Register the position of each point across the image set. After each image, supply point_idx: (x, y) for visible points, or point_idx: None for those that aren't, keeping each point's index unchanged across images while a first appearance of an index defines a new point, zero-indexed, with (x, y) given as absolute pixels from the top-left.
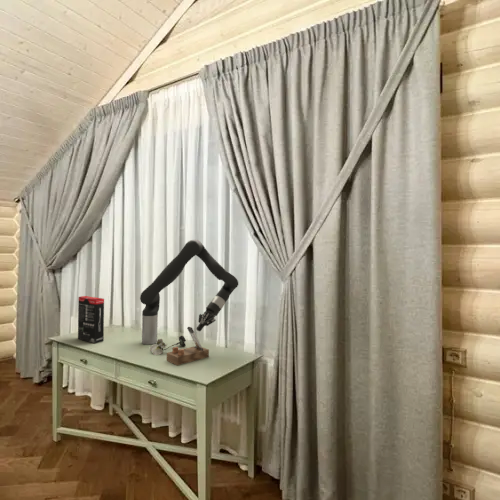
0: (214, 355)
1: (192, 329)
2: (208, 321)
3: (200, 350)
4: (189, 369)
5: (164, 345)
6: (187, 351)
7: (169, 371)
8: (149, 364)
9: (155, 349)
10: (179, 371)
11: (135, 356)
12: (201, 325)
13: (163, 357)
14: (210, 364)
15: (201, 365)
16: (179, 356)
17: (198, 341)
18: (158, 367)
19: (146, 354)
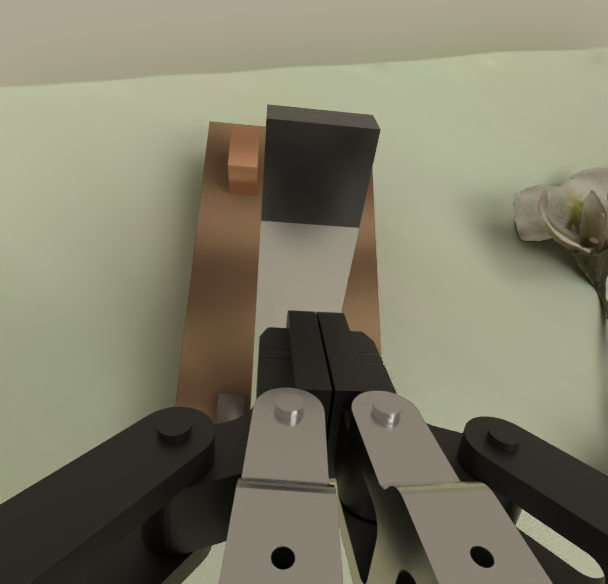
0: None
1: (264, 157)
2: (18, 513)
3: (214, 381)
4: (77, 167)
5: (588, 248)
6: None
7: (159, 76)
8: (358, 75)
9: (570, 194)
10: (106, 109)
11: (552, 102)
12: (282, 385)
13: (430, 198)
14: (11, 344)
15: (62, 275)
16: (215, 143)
17: (253, 360)
18: (271, 77)
19: (558, 162)
